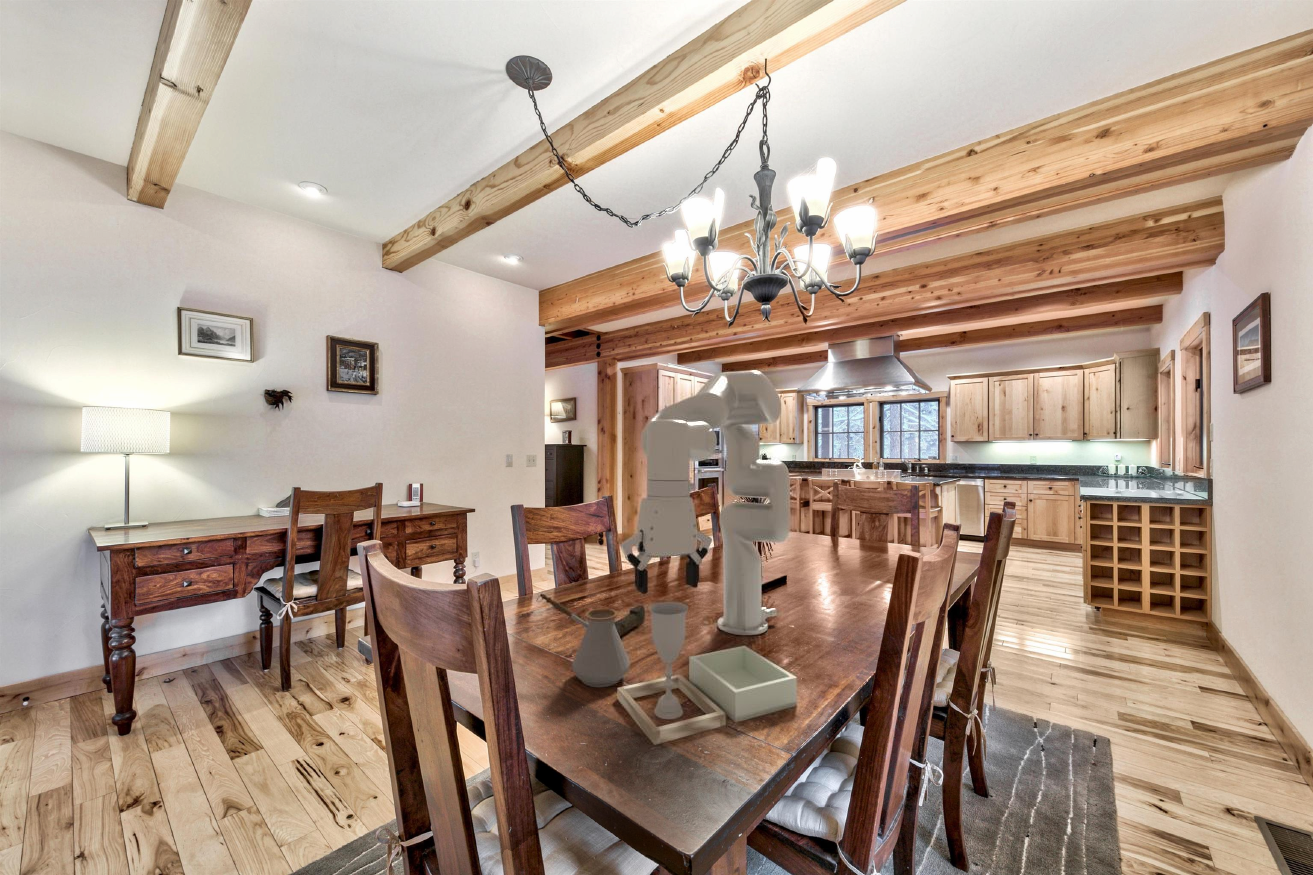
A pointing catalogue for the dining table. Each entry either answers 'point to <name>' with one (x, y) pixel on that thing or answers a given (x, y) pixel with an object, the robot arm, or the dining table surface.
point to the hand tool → (631, 620)
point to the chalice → (668, 649)
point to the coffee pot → (598, 648)
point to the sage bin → (742, 682)
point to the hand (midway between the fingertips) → (667, 588)
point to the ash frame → (673, 730)
